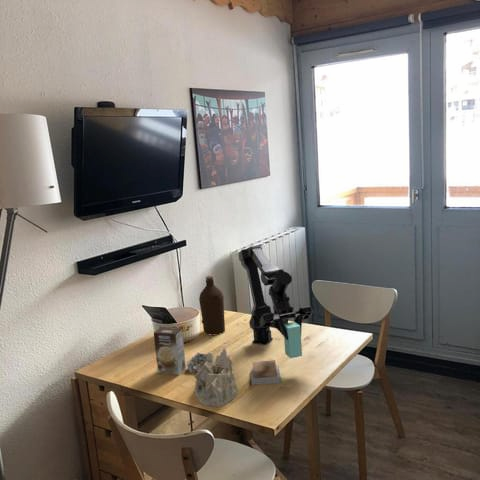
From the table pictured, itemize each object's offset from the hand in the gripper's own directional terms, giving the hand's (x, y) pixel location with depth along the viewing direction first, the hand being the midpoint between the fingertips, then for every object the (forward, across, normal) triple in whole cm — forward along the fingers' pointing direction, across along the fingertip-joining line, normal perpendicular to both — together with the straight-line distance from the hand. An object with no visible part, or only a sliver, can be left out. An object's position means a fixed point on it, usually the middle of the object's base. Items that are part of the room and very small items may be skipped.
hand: (294, 338), depth 183 cm
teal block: (+4, 0, -6) cm, 7 cm away
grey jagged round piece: (+10, +30, -9) cm, 33 cm away
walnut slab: (+6, +11, -10) cm, 16 cm away
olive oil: (-30, +15, -49) cm, 60 cm away
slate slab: (+8, +10, -12) cm, 18 cm away
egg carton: (-6, +29, -26) cm, 39 cm away
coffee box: (-7, +40, -27) cm, 48 cm away
